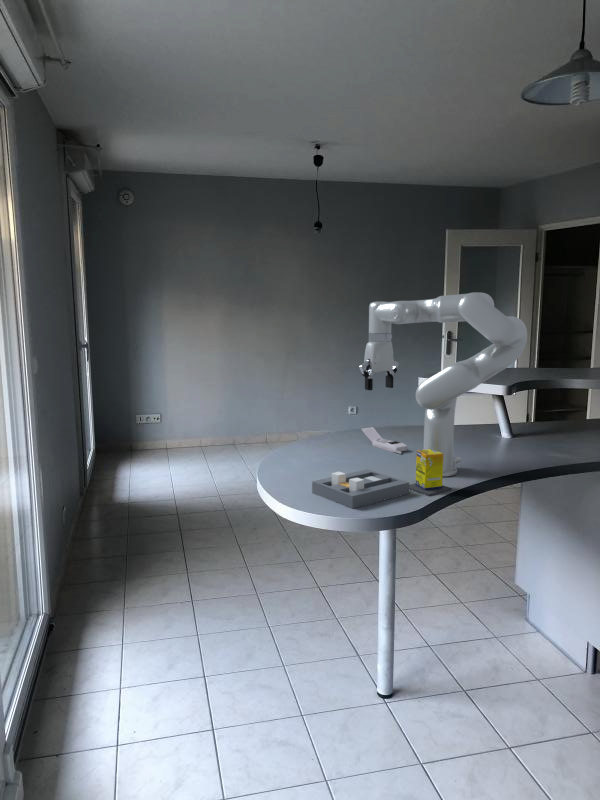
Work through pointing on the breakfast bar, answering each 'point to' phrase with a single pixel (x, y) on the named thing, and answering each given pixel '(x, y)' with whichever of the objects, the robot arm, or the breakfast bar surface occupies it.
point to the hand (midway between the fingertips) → (379, 388)
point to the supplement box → (429, 469)
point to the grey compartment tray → (373, 491)
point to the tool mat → (428, 492)
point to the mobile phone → (384, 441)
